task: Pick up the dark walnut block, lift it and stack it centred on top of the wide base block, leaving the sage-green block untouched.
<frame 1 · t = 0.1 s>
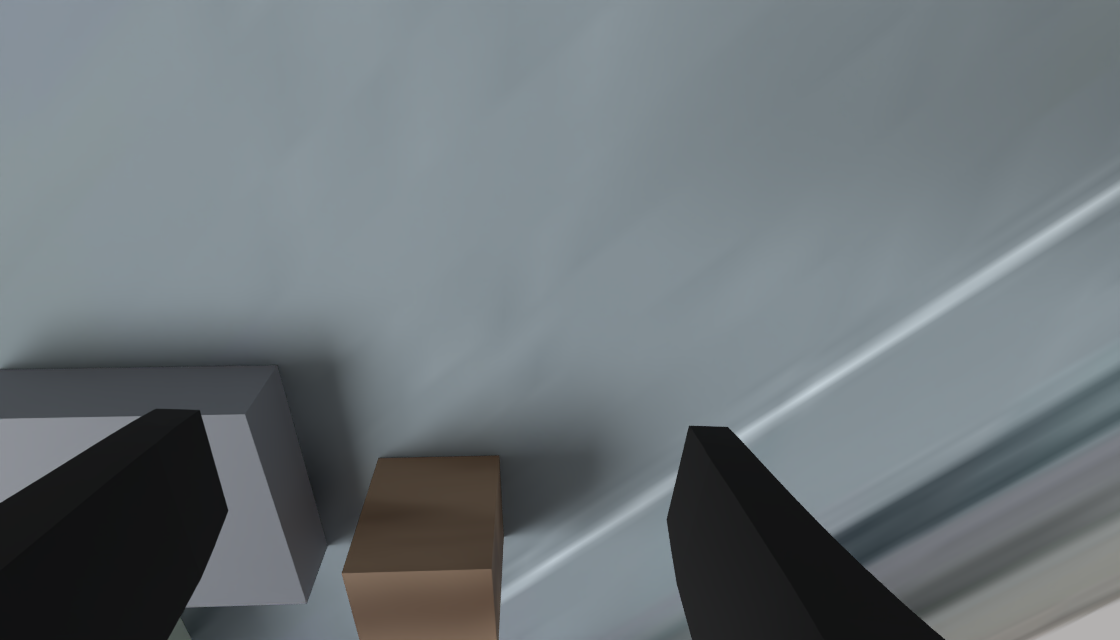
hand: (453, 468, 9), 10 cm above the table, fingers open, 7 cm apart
base block: (187, 459, 22), on the table
walnut block: (444, 498, 23), on the table
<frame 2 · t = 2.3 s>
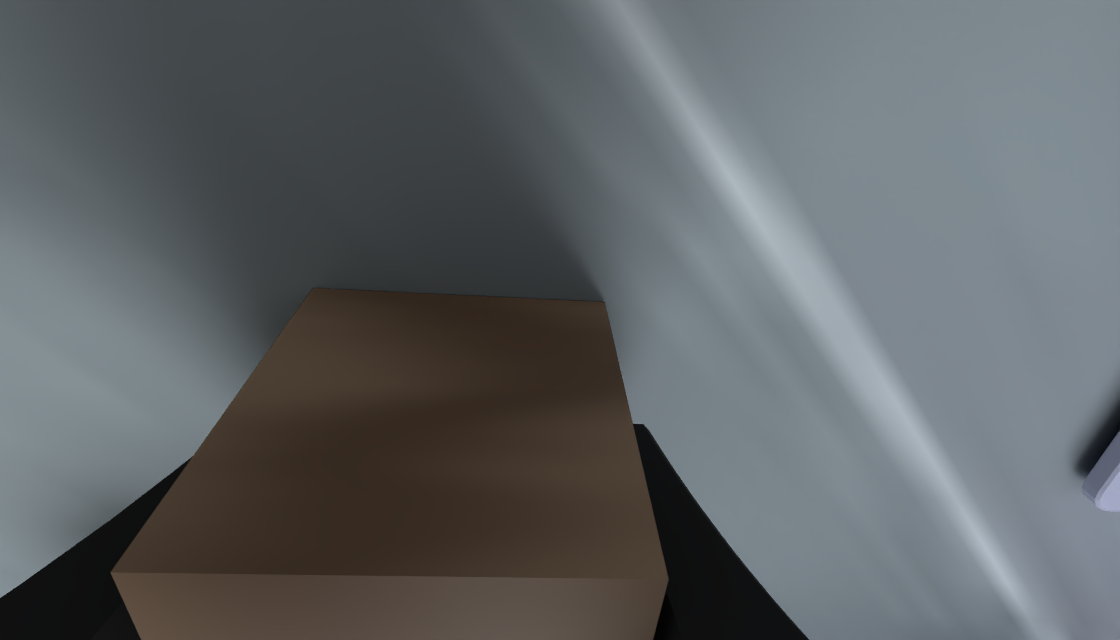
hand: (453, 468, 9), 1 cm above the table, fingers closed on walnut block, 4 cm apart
walnut block: (462, 409, 10), on the table, touching gripper
when the fingers open (6 cm above the table, at t = 5.7 s): walnut block drops 2 cm, resting on base block.
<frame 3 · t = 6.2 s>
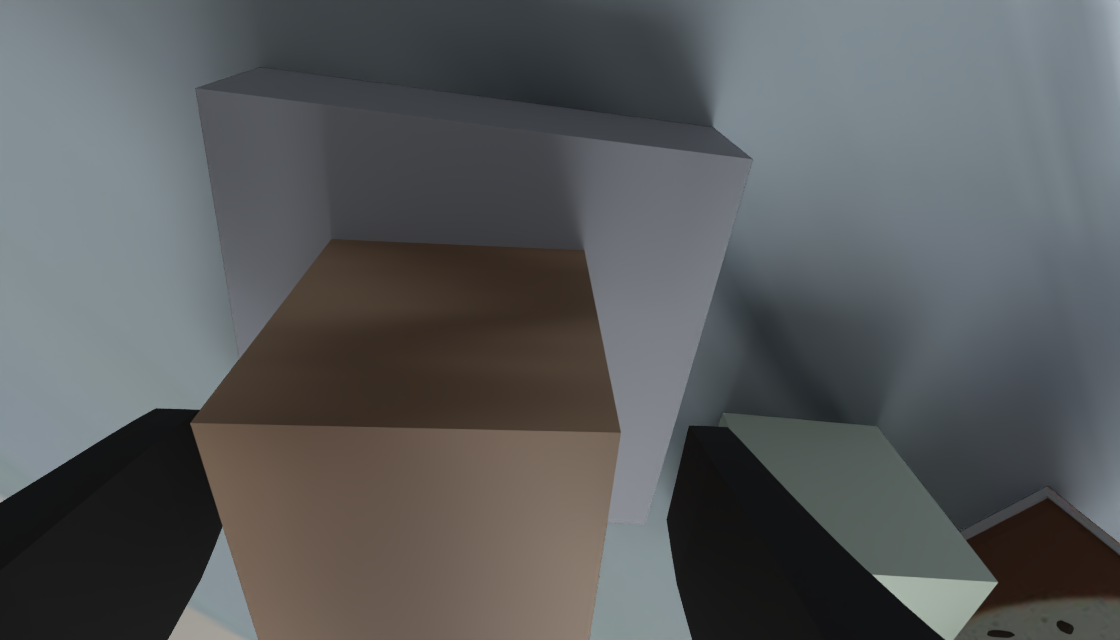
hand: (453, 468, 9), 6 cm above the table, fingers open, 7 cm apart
base block: (482, 288, 14), on the table, touching walnut block
sage block: (774, 477, 17), on the table
food container: (943, 594, 21), on the table
walnut block: (461, 350, 12), point 2 cm above the table, touching base block
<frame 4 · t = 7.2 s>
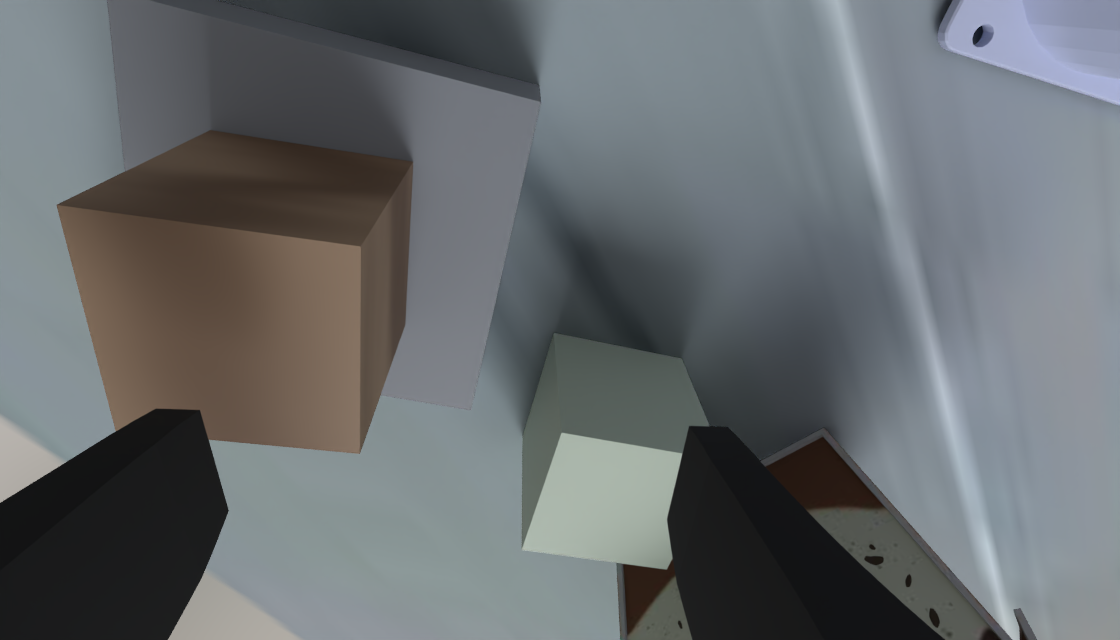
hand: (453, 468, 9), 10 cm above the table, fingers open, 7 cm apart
base block: (354, 201, 17), on the table, touching walnut block
sage block: (599, 397, 21), on the table
food container: (748, 523, 25), on the table
walnut block: (316, 236, 15), point 2 cm above the table, touching base block
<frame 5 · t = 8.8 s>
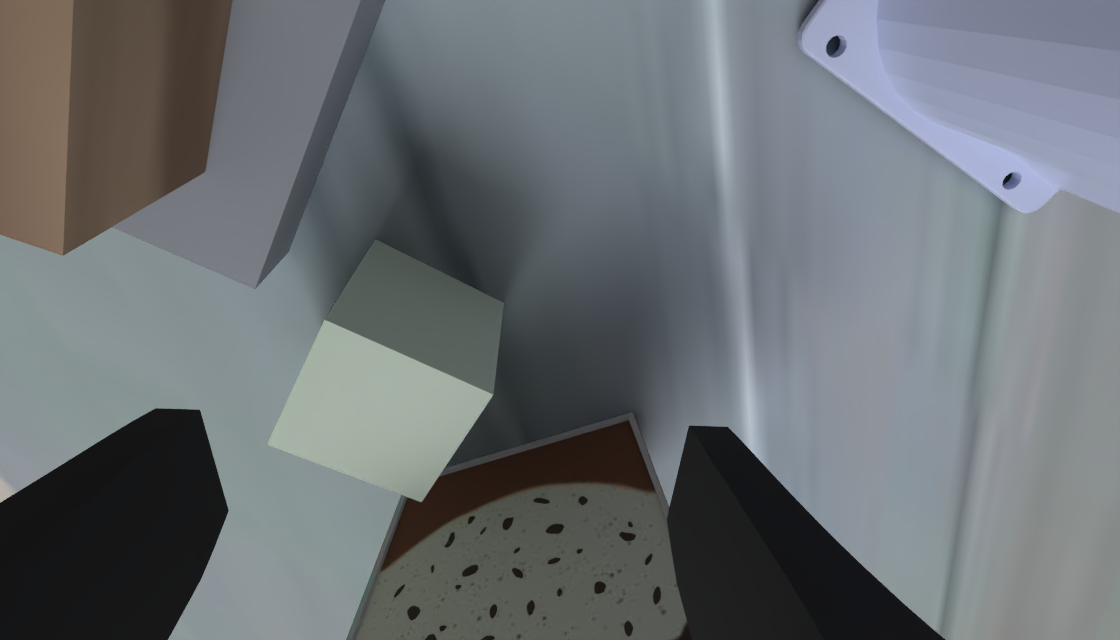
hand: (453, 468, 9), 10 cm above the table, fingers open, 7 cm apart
base block: (179, 31, 16), on the table, touching walnut block
sage block: (413, 323, 20), on the table
food container: (545, 495, 24), on the table
walnut block: (113, 39, 13), point 2 cm above the table, touching base block
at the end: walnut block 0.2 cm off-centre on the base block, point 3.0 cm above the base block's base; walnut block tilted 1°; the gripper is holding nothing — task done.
